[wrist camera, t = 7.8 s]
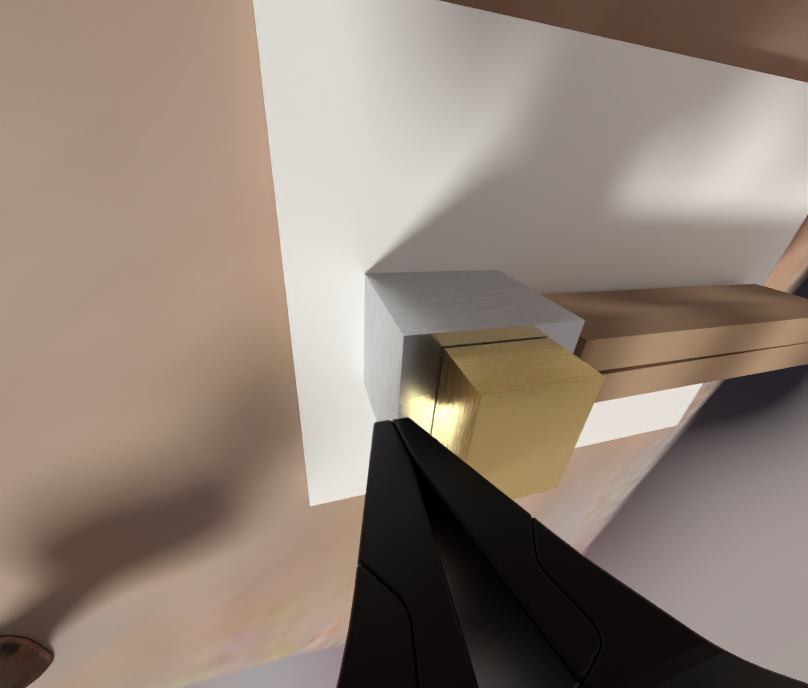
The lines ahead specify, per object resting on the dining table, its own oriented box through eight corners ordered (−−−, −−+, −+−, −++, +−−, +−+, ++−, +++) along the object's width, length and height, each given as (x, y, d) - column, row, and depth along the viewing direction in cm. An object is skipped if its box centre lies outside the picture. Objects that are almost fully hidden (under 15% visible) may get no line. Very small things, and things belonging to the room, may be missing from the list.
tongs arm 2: (509, 323, 13) (573, 374, 10) (516, 295, 13) (586, 340, 10) (741, 305, 17) (835, 338, 14) (754, 283, 17) (855, 312, 14)
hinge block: (363, 382, 13) (393, 471, 10) (364, 273, 11) (404, 335, 7) (476, 368, 15) (540, 442, 11) (497, 269, 12) (585, 320, 9)
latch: (428, 457, 10) (454, 514, 8) (443, 348, 8) (481, 395, 6) (518, 439, 10) (557, 487, 9) (550, 337, 9) (605, 377, 7)
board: (252, -22, 8) (248, -43, 7) (846, 101, 15) (879, 98, 14) (308, 488, 17) (310, 506, 16) (662, 415, 23) (676, 425, 23)
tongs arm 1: (502, 353, 14) (560, 408, 11) (508, 328, 13) (571, 379, 10) (728, 326, 18) (816, 362, 15) (741, 306, 17) (835, 338, 14)
